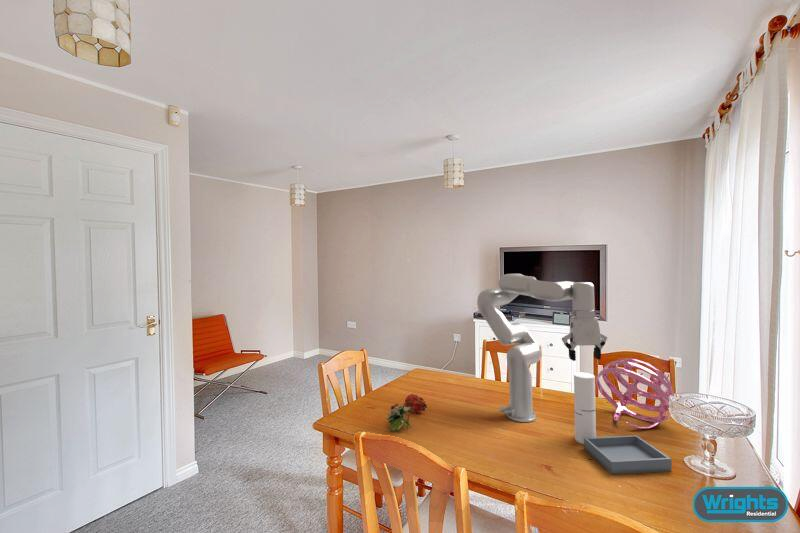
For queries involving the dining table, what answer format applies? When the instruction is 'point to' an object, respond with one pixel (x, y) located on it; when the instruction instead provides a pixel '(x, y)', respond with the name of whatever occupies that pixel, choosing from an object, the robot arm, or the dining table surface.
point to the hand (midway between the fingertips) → (585, 359)
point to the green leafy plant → (398, 417)
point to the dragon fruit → (415, 403)
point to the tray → (627, 454)
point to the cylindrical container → (584, 406)
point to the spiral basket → (637, 390)
